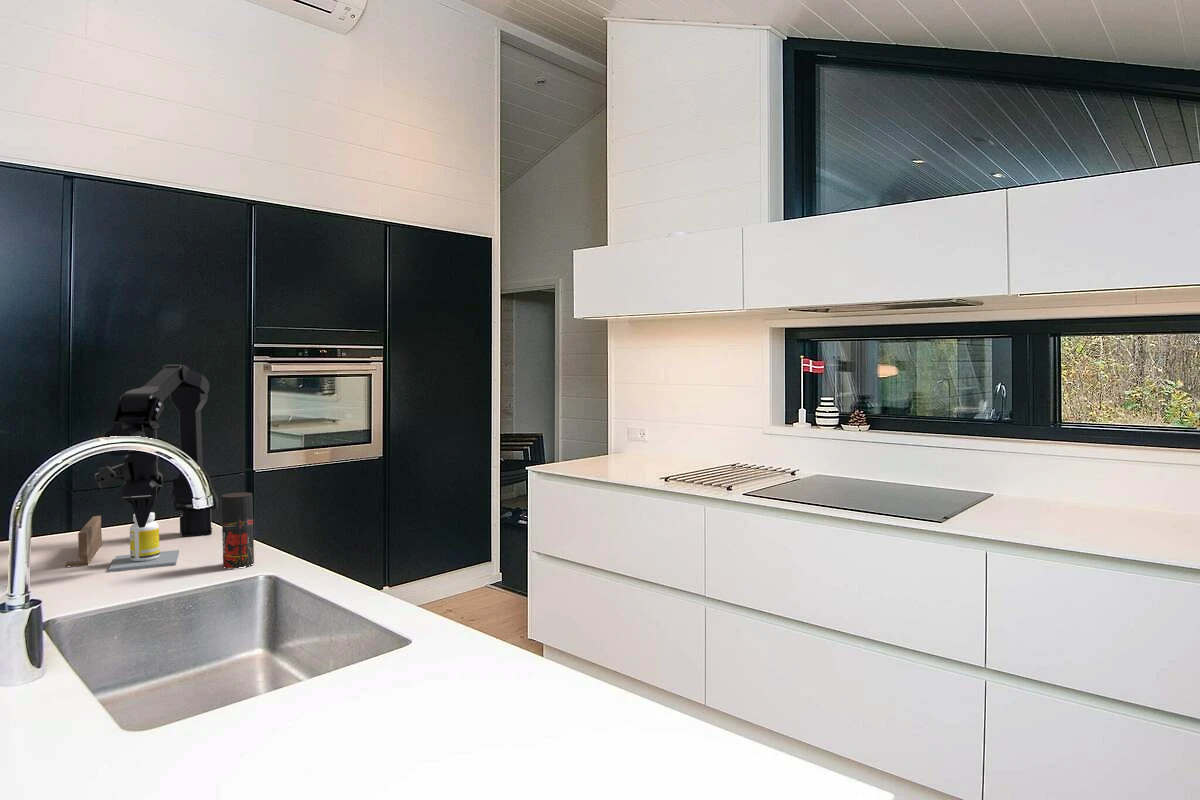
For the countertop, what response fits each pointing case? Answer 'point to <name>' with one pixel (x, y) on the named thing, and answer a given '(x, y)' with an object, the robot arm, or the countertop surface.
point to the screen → (88, 542)
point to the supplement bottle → (144, 540)
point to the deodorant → (237, 529)
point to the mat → (127, 564)
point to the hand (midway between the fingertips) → (144, 523)
